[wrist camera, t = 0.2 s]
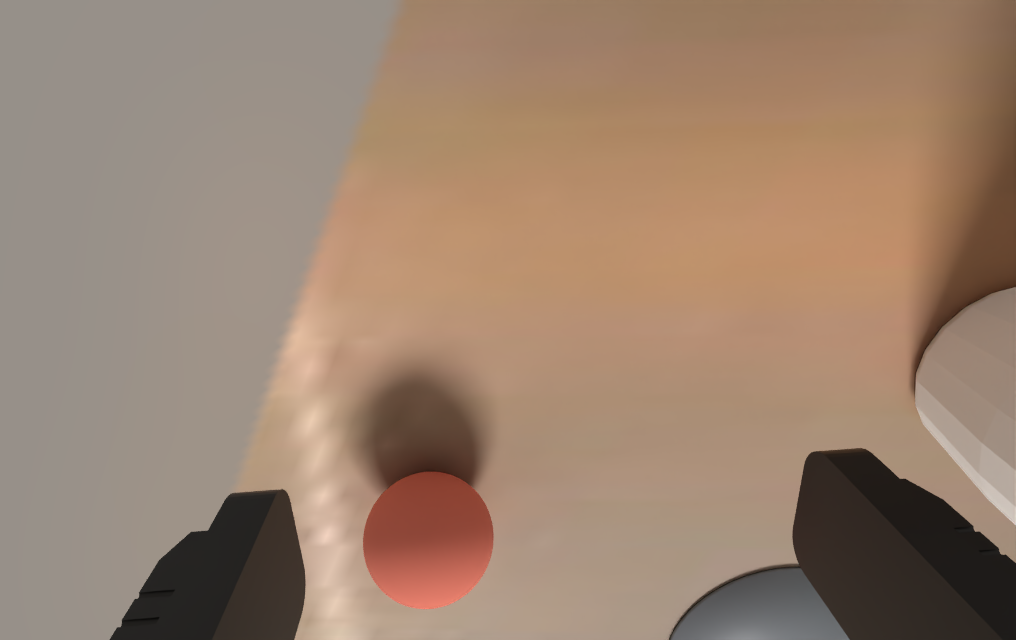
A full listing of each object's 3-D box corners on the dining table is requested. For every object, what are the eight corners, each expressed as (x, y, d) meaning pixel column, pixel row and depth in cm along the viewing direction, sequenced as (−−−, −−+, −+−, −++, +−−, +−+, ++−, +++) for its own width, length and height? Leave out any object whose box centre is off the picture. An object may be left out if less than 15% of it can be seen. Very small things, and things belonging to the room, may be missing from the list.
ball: (360, 455, 30) (338, 548, 24) (481, 437, 30) (487, 526, 24) (385, 546, 32) (370, 648, 27) (497, 529, 32) (505, 628, 27)
